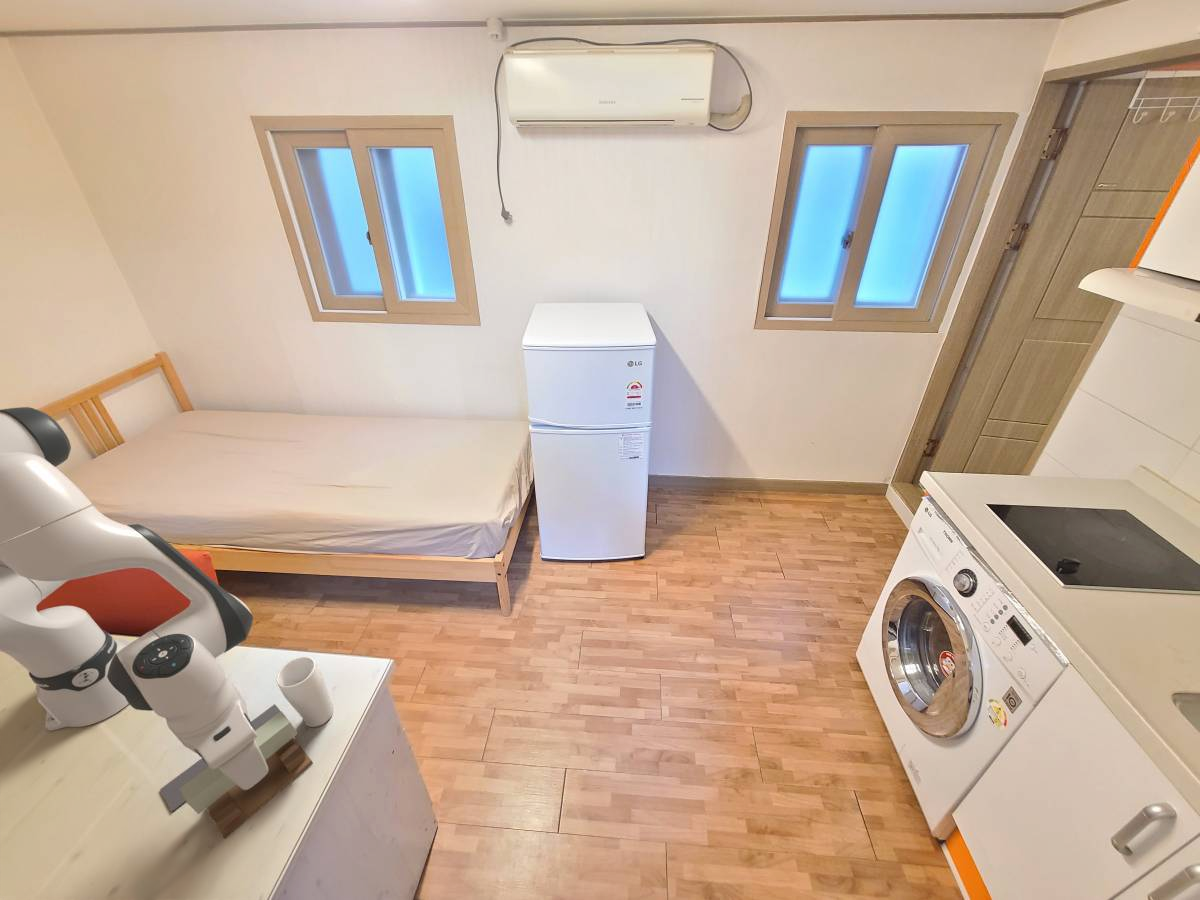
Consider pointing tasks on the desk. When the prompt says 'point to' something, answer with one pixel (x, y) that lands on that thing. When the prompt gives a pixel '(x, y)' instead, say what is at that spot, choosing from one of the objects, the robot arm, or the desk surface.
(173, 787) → the pad
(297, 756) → the rack
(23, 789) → the desk surface
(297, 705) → the drinking glass
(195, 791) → the clay strip
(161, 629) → the robot arm
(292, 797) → the desk surface
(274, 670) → the desk surface
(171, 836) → the desk surface
